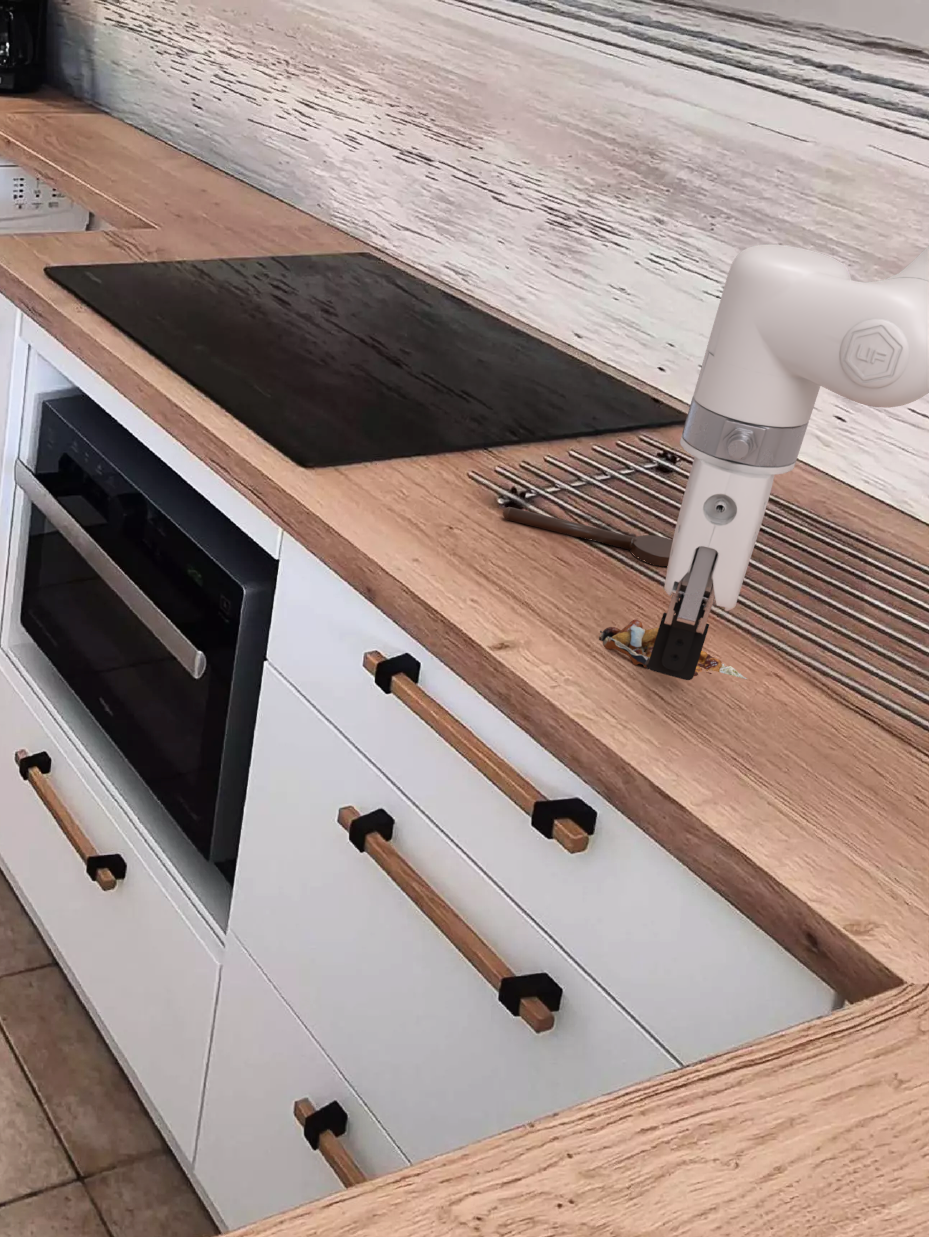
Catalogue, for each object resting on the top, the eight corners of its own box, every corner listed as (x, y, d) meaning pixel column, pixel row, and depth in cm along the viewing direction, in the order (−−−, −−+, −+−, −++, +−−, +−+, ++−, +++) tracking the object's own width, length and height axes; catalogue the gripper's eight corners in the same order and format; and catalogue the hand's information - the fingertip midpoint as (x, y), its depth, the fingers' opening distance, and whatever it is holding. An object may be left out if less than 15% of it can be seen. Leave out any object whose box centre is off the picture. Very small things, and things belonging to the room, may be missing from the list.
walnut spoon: (688, 553, 152) (691, 541, 151) (682, 572, 148) (685, 560, 147) (506, 509, 157) (509, 497, 157) (496, 526, 153) (498, 514, 153)
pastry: (756, 715, 125) (770, 673, 124) (591, 679, 128) (602, 637, 126) (751, 674, 131) (764, 633, 130) (594, 641, 134) (604, 600, 132)
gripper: (794, 481, 107) (713, 730, 115) (806, 415, 119) (732, 645, 128) (673, 453, 109) (602, 699, 118) (696, 392, 121) (631, 618, 130)
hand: (670, 670), depth 123 cm, fingers closed
